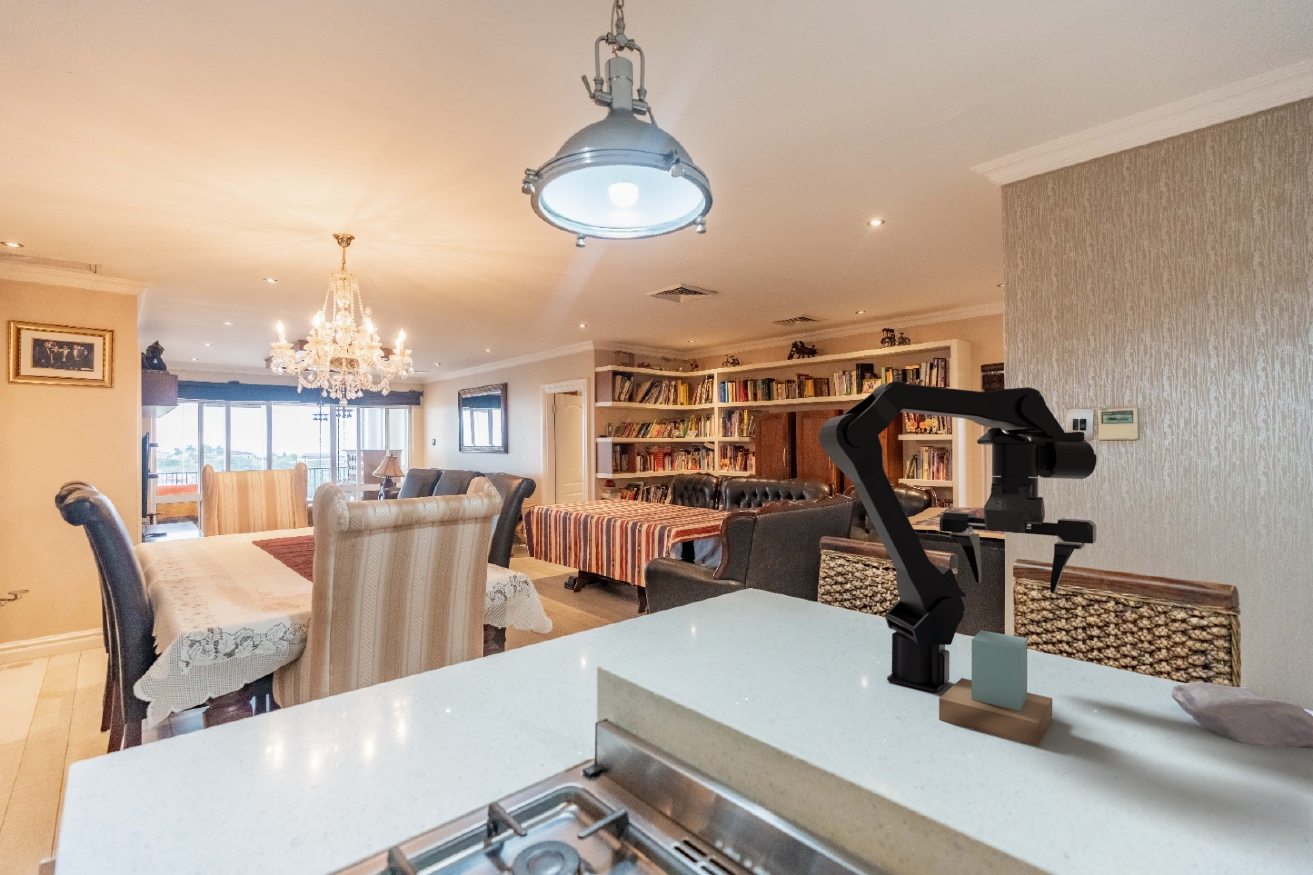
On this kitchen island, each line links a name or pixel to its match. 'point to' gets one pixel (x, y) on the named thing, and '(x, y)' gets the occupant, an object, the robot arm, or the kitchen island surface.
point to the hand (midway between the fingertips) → (1014, 587)
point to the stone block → (1245, 715)
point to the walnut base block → (997, 714)
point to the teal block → (999, 669)
